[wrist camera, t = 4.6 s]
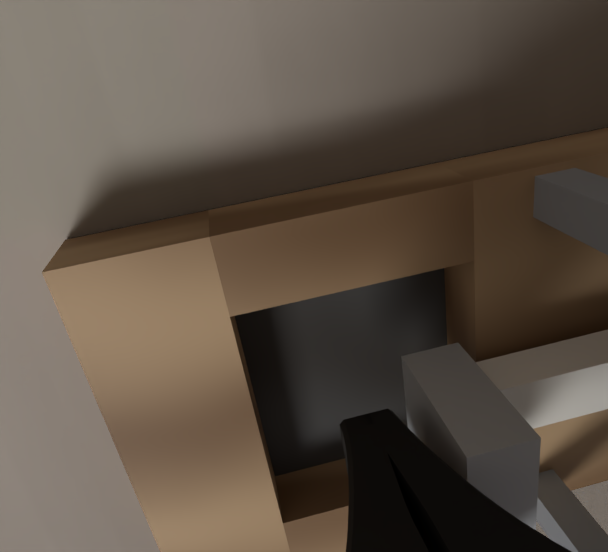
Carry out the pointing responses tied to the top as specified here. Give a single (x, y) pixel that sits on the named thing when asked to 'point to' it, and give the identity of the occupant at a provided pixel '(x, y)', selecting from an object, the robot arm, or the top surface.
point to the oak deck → (318, 333)
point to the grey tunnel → (604, 237)
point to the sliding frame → (502, 410)
